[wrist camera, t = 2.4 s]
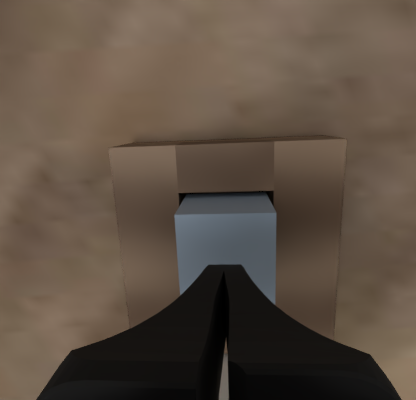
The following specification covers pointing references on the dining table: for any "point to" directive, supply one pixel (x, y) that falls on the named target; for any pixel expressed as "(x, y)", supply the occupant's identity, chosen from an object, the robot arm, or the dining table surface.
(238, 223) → the grey cube
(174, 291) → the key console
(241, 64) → the dining table surface
